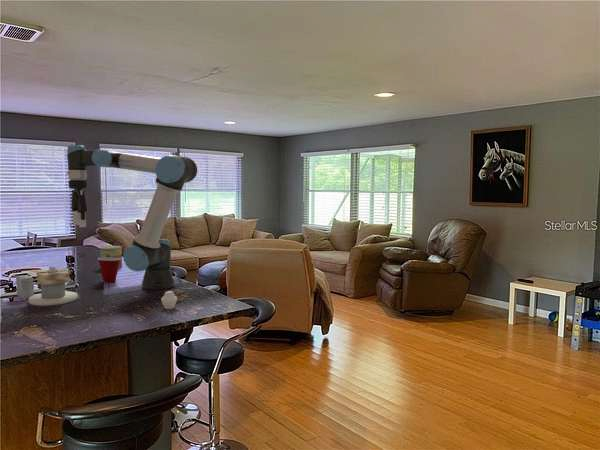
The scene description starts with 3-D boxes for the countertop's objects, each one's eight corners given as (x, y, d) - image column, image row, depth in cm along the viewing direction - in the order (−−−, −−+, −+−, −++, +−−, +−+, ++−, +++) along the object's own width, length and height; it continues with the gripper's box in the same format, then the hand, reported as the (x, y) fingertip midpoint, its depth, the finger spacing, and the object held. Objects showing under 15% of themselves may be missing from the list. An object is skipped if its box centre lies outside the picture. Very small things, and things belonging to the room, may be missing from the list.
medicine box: (34, 297, 190) (33, 277, 189) (22, 299, 187) (21, 279, 186) (28, 294, 196) (27, 274, 195) (16, 296, 192) (15, 276, 192)
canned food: (96, 268, 254) (96, 248, 252) (108, 265, 265) (108, 245, 264) (115, 269, 252) (114, 248, 251) (126, 266, 263) (125, 246, 262)
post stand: (74, 292, 199) (73, 261, 198) (80, 301, 185) (79, 268, 183) (27, 297, 189) (25, 265, 188) (30, 308, 175) (28, 272, 173)
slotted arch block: (66, 277, 194) (66, 268, 194) (69, 282, 185) (69, 272, 185) (37, 280, 188) (36, 270, 187) (39, 285, 179) (38, 275, 178)
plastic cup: (126, 280, 224) (125, 257, 223) (106, 284, 215) (106, 260, 214) (112, 278, 230) (112, 255, 229) (93, 281, 221) (92, 258, 220)
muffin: (178, 305, 182) (177, 288, 181) (176, 309, 176) (176, 292, 175) (162, 306, 181) (162, 289, 180) (160, 310, 175) (159, 292, 174)
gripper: (63, 179, 211) (65, 224, 213) (74, 179, 192) (76, 228, 193) (80, 179, 216) (82, 223, 218) (93, 179, 196) (94, 227, 198)
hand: (79, 226), depth 206 cm, fingers open, 13 cm apart
